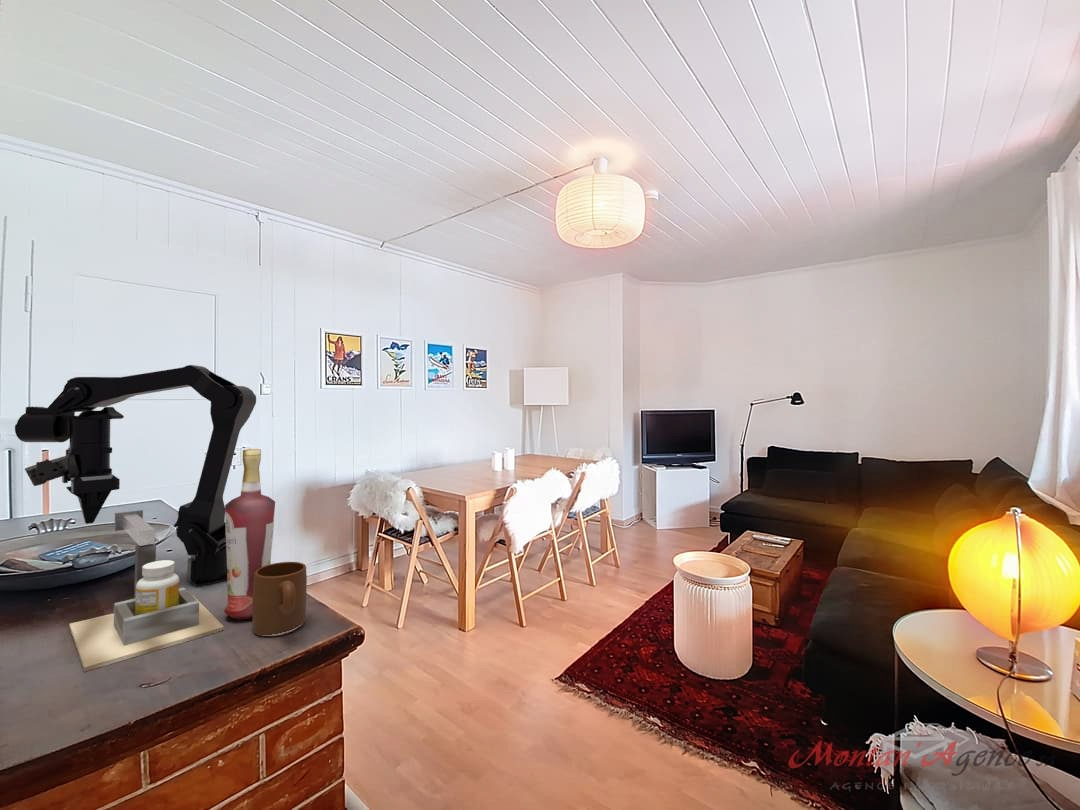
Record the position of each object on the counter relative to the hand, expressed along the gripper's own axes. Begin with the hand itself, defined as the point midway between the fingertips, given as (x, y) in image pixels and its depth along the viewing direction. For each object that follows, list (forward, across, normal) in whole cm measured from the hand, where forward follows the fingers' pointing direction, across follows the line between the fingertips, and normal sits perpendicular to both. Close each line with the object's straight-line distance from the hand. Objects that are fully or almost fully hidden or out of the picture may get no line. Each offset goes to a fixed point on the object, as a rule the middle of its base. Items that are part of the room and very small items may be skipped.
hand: (89, 523), depth 92 cm
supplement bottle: (+12, +31, +4) cm, 34 cm away
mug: (+12, +46, +17) cm, 51 cm away
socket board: (+12, +30, +3) cm, 33 cm away
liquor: (+12, +36, +16) cm, 41 cm away
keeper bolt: (+1, +15, +5) cm, 16 cm away
